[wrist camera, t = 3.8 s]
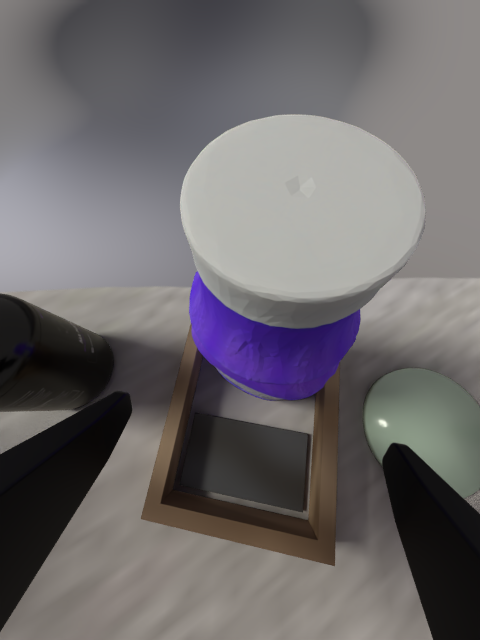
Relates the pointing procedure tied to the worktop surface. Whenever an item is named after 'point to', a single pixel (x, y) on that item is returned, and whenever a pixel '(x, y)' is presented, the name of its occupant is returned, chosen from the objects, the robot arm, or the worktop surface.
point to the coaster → (427, 424)
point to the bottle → (293, 246)
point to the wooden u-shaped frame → (247, 473)
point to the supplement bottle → (48, 360)
